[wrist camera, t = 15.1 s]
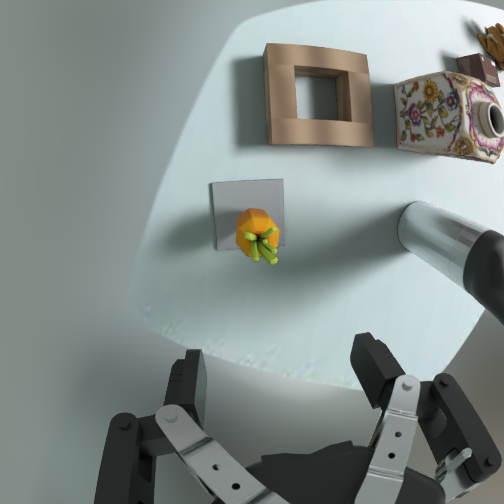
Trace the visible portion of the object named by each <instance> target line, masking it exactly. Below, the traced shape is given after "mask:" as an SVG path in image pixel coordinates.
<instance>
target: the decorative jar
mask: <svg viewBox="0 0 504 504" xmlns="http://www.w3.org/2000/svg"><path fill="white" fill-rule="evenodd" d="M394 93H395V104H396V122H397V148H398V149H401V150H407V151H414V152H421V153H429V154H434V155H440V156H446V157H453V158H460V159H467V160H474V161H480V162H487V163H491V164H494V163H495V162H496V160H497V159H498V158H499V157H500V153H501V151H502V150H503V148H504V114H503V112H502V109H501V107H500V104H499V102H498V100H497V98H496V96H495V95H494V93H493V91H492V89H491V87H490V86H488V85H487V84H485V83H484V82H482V81H481V80H479V79H476V78H474V77H470V76H468V75H463V74H461V73H454V72H450V71H448V70H446V71H442V72H437V73H432V74H427V75H424V76H419V77H415V78H412V79H408V80H405V81H402V82H399V83H396V84H394Z"/></svg>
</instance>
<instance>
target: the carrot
mask: <svg viewBox="0 0 504 504" xmlns="http://www.w3.org/2000/svg"><path fill="white" fill-rule="evenodd" d="M279 232H280V229H279V228H278V227H277V225H276V224H275V223H274V222H273V220H272V219H271V218H270V217H269V215H268V214H267V213H266V212H265V211H264V210H262V209H254V208H248V209H247V210H246V211H244V212H243V213H242V214H241V215H240V216H239V217H238V219H237V230H236V244H237V245H238V246H239V247H240V248H241V250H242V251H243V252H244V253H245V254H246V255H247V256H248V257H252V259H253V261H255V262H258V261H260V259H259V257H263V258H264V259H265V260H266V261H267V262H268V263H269V264H271V265H274V264H276V263H277V262H278V259H277V257H276V256H275V255H274V254H276V253H277V249H276V248H277V247H278V239H279Z"/></svg>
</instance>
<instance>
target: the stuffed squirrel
mask: <svg viewBox="0 0 504 504" xmlns="http://www.w3.org/2000/svg"><path fill="white" fill-rule="evenodd" d="M495 27H496V28H495ZM495 27H493V26H491V27H490V28H488V29H487V30H488V35H487V37H486V38H485V37H484V36H483V35H480V34H479V35H478V38H479V40H480V42H481V43H482V45H483V46H484V48H485V50H486V51H487V52H488V53H489V54H490V55H491V56H492V57H494V58H495V59H496V62H497V64H498V65H499V66H500V68H501V69H502V70H504V28H503V26H502V25H500V24H499V23H497V24H496V25H495Z"/></svg>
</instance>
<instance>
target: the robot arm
mask: <svg viewBox="0 0 504 504" xmlns="http://www.w3.org/2000/svg"><path fill="white" fill-rule="evenodd" d="M398 236H399V240H400V242H401V244H402V245H403V246H404V247H405V248H406V249H408V250H409V251H411V252H412V253H414V254H415V255H417V256H418V257H419V258H421V259H422V260H424V261H425V262H427V263H428V264H430V265H431V266H432V267H434V268H435V269H437V270H438V271H440V272H441V273H442V274H444V275H445V276H447V277H448V278H449V279H451V280H452V281H453V282H455V283H456V284H458V285H459V286H460V287H461V288H463V289H464V290H465V291H467V292H468V293H469V294H471V295H472V296H473V297H474V298H475V299H476V300H477V301H478V302H479V303H480V304H481V305H483V306H484V307H485V308H486V309H487V310H488V311H490V312H491V313H492V314H493V315H494V316H495V317H496V318H497V319H498V320H499V321H500V322H501V323H502V324H503V325H504V236H503V235H501V234H500V233H498V232H495V231H493V230H491V229H489V228H487V227H485V226H482V225H480V224H478V223H475V222H473V221H471V220H468V219H466V218H464V217H461V216H459V215H456V214H454V213H451V212H449V211H446V210H444V209H441V208H438V207H436V206H433V205H431V204H428V203H425V202H421V201H418V202H414V203H412V204H410V205H409V206H408V207H407V208H406V209H405V210H404V212H403V213H402V215H401V218H400V220H399V225H398ZM350 361H351V365H352V368H353V370H354V372H355V374H356V376H357V378H358V380H359V382H360V384H361V386H362V388H363V390H364V392H365V394H366V396H367V398H368V400H369V402H370V404H371V406H372V408H373V409H375V408H379V407H381V409H382V411H381V413H380V416H379V419H378V422H377V424H376V427H375V430H374V433H373V435H372V438H371V440H370V442H369V445H368V446H367V447H365V446H356V445H353V444H352V441H351V440H350V441H346V442H342V443H338V444H333V445H330V446H327V447H325V448H323V449H321V450H319V451H316V452H314V453H312V454H288V453H282V454H273V455H264V456H261V461H260V462H256V463H254V464H252V465H250V466H248V467H246V468H245V469H244V468H243V467H242V466H241V465H240V464H239V463H238V462H237V461H236V460H235V459H233V458H232V457H231V456H230V455H229V454H228V453H227V452H226V451H225V450H224V449H223V448H222V447H221V446H220V445H219V444H218V443H217V442H216V441H215V440H214V439H213V438H211V437H210V438H209V437H208V436H207V435H205V433H204V432H203V431H204V415H205V400H206V386H207V373H206V367H205V362H204V358H203V353H202V350H201V349H189V350H187V351H186V357H185V359H177V361H176V362H175V363H174V364H173V366H172V369H171V373H170V377H169V382H168V387H167V391H166V396H165V401H164V405H163V407H161V408H160V409H159V410H158V411H157V413H156V414H154V415H151V416H147V417H142V418H136V417H135V416H134V415H133V414H131V413H119V414H117V415H116V416H114V417H113V418H112V420H111V422H110V426H109V430H108V434H107V438H106V442H105V446H104V451H103V456H102V461H101V466H100V471H99V476H98V481H97V487H96V493H95V500H94V504H154V487H155V471H156V458H157V456H159V455H165V454H170V453H175V454H176V455H177V456H178V457H179V459H180V460H181V461H182V462H183V464H184V465H185V466H186V467H187V469H188V470H189V471H190V472H191V473H192V475H193V476H194V477H195V478H196V479H197V481H198V482H199V483H200V484H201V486H202V487H203V488H204V489H205V490H206V491H207V492H208V493H209V494H210V495H211V497H212V498H213V499H214V502H212V503H211V504H445V503H446V502H448V501H449V500H451V499H453V498H460V497H462V496H464V495H465V494H467V493H468V492H470V491H471V490H473V489H474V488H475V487H477V486H478V485H479V484H481V483H482V482H484V481H485V480H486V479H488V478H489V477H490V476H491V475H493V474H494V473H495V472H496V471H497V470H498V469H499V468H500V466H501V462H502V458H501V455H500V453H499V451H498V449H497V447H496V445H495V443H494V442H493V440H492V438H491V436H490V435H489V433H488V431H487V429H486V427H485V426H484V424H483V422H482V421H481V419H480V417H479V416H478V414H477V413H476V411H475V410H474V408H473V406H472V405H471V403H470V402H469V400H468V398H467V397H466V395H465V394H464V392H463V391H462V389H461V388H460V386H459V385H458V384H457V382H456V381H455V379H454V378H453V377H452V376H451V375H449V374H446V373H440V374H438V375H436V376H435V378H434V380H433V381H422V382H420V381H419V380H418V379H417V378H416V377H414V376H412V375H406V374H405V372H404V371H403V369H402V368H401V366H400V365H399V363H398V362H397V360H396V359H395V357H393V354H392V353H391V352H390V350H389V349H388V347H387V346H386V344H384V343H383V342H381V341H380V340H379V339H378V340H375V339H374V338H373V336H372V335H371V333H370V332H367V333H361V334H356V335H355V338H354V342H353V346H352V351H351V355H350ZM441 410H442V411H441ZM442 412H443V414H444V415H445V417H446V419H447V420H446V419H445V417H444V415H443V414H442ZM417 421H418V423H419V425H420V427H421V429H422V431H423V433H424V436H425V438H426V440H427V442H428V444H429V446H430V449H431V451H432V453H433V455H434V458H435V460H436V462H437V467H436V470H435V477H434V478H435V480H434V479H432V478H430V477H427V476H425V475H423V474H421V473H419V472H417V471H415V470H413V469H411V468H408V467H406V464H407V460H408V457H409V453H410V450H411V446H412V442H413V438H414V434H415V430H416V425H417Z"/></svg>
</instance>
